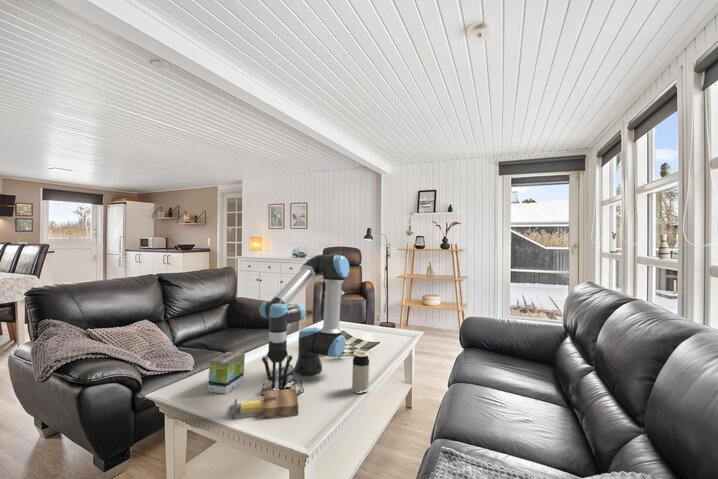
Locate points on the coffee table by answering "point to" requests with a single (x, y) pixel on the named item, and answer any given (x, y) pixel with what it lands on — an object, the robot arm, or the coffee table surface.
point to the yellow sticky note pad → (251, 406)
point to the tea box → (226, 372)
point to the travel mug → (360, 371)
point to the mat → (237, 414)
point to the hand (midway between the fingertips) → (276, 395)
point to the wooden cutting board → (280, 403)
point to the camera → (288, 378)
